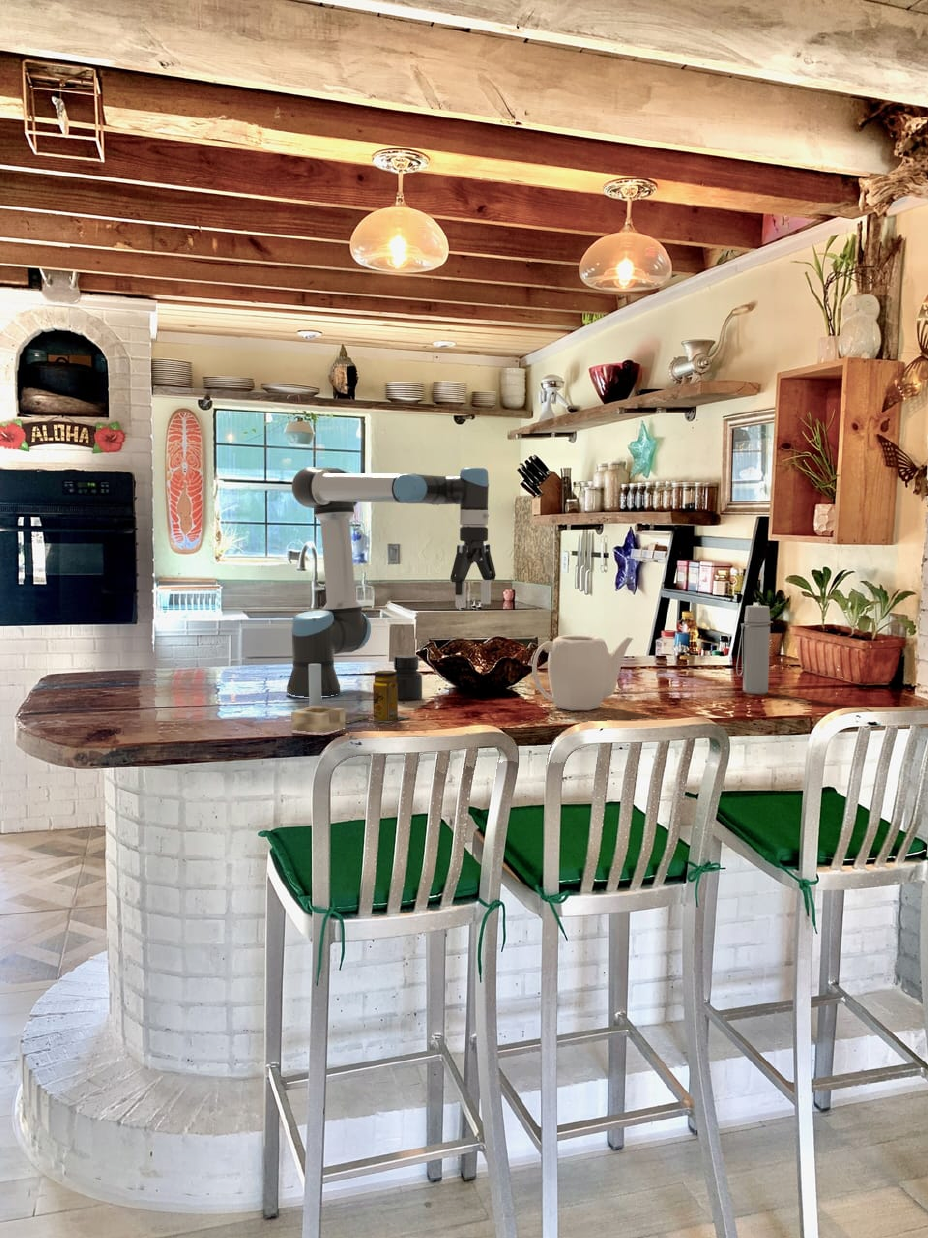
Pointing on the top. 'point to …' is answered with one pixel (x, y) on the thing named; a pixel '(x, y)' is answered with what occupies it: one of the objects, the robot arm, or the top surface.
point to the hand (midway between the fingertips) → (473, 605)
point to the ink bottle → (408, 677)
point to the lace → (355, 719)
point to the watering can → (580, 671)
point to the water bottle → (755, 650)
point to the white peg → (315, 685)
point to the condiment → (385, 697)
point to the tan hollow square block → (318, 719)
